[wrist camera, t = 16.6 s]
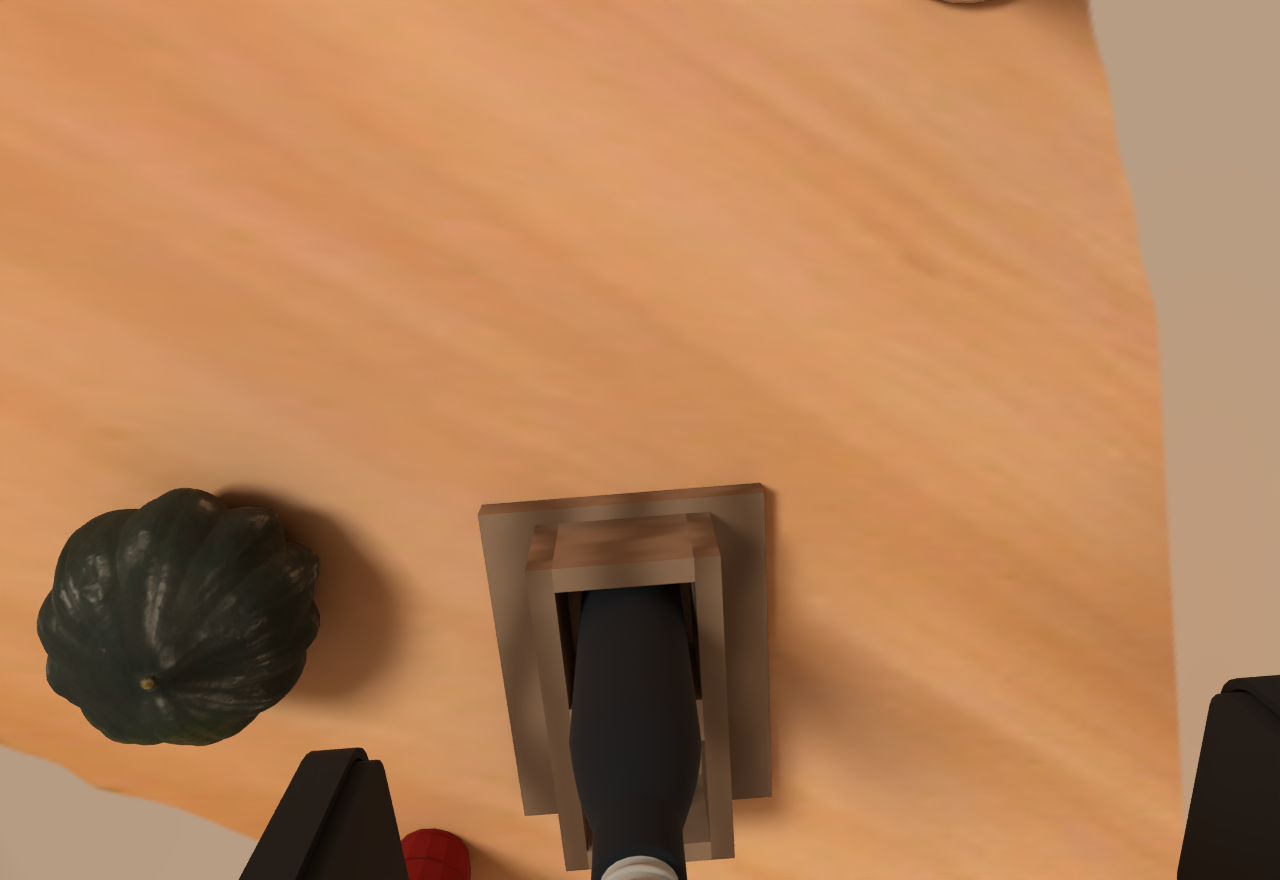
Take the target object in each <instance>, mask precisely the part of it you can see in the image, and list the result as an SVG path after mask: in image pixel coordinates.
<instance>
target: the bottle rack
mask: <svg viewBox="0 0 1280 880" xmlns="http://www.w3.org/2000/svg"><path fill="white" fill-rule="evenodd" d="M478 520H479V526H480V532H481V539H482V545H483V552H484V558H485V564H486V571H487V577H488V584H489V590H490V596H491V603H492V609H493V616H494V622H495V628H496V635H497V641H498V648H499V654H500V660H501V667H502V673H503V679H504V686H505V692H506V699H507V705H508V711H509V718H510V724H511V731H512V737H513V743H514V750H515V756H516V763H517V769H518V775H519V782H520V788H521V795H522V801H523V807H524V814H525V816H531V815H544V814H557V813H558V815H559V823H560V830H561V837H562V844H563V852H564V859H565V866H566V871H574V870H587V869H592V847H593V833H592V830H591V828H590V825H589V823H588V820H587V818H586V815H585V813H584V810H583V808H582V805H581V802H580V800H579V797H578V792H577V787H576V783H575V778H574V772H573V767H572V761H571V754H570V747H569V736H570V724H571V713H572V701H573V690H574V678H575V667H576V655H577V644H578V633H579V621H580V610H581V598H582V591H584V590H597V589H610V588H622V587H635V586H648V585H660V584H673V583H679V585H680V592H681V599H682V606H683V613H684V620H685V627H686V634H687V641H688V648H689V655H690V662H691V669H692V676H693V683H694V690H695V697H696V704H697V711H698V718H699V725H700V734H701V743H702V748H701V759H700V768H699V774H698V781H697V786H696V790H695V793H694V797H693V800H692V803H691V807H690V810H689V813H688V816H687V819H686V822H685V825H684V828H683V841H684V852H685V862H689V861H702V860H714V859H727V858H735V853H734V832H733V811H732V800H735V799H747V798H760V797H772V780H771V741H770V702H769V663H768V625H767V586H766V547H765V508H764V491H763V489H762V487H761V484H760V483H753V484H741V485H728V486H715V487H703V488H690V489H678V490H665V491H652V492H640V493H627V494H614V495H602V496H589V497H577V498H564V499H551V500H539V501H526V502H513V503H501V504H488V505H482V506H481V509H480V511H479V514H478Z"/></svg>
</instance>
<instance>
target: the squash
mask: <svg viewBox="0 0 1280 880" xmlns="http://www.w3.org/2000/svg"><path fill="white" fill-rule="evenodd" d="M318 576H319V558H318V556H317V555H316V554H315V553H314V552H313V551H312V550H310V549H309V548H307V547H305V546H303V545H300V544H298V543H292V542H286V541H285V531H284V526H283V523H282V521H281V519H280V517H279V516H278V515H277V513H275V512H274V511H273V510H271V509H268V508H264V507H238V508H233V509H228V507H227V506H226V504H225V503H224V502H223V501H221V500H220V499H219V498H218V497H216V496H214V495H212V494H210V493H208V492H205V491H202V490H198V489H192V488H179V489H174V490H171V491H169V492H167V493H165V494H163V495H162V496H160V497H159V498H157V499H155V500H152V501H150V502H148V503H147V504H145V505H144V506H143V507H141V508H140V509H123V510H115V511H111V512H107V513H104V514H102V515H100V516H97V517H95V518H93V519H92V520H90V521H89V522H87V523H86V524H85V525H83V526H82V527H81V528H79V529H78V530H76V531H75V532H74V533H73V534H72V535H71V536H70V538H69V539H68V541H67V542H66V544H65V546H64V548H63V549H62V552H61V554H60V556H59V559H58V563H57V566H56V570H55V577H54V584H53V589H52V590H51V591H50V593H49V594H48V596H47V597H46V599H45V600H44V602H43V604H42V606H41V609H40V611H39V615H38V619H37V633H38V636H39V638H40V640H41V642H42V645H43V647H44V649H45V651H46V653H47V654H48V657H47V664H46V676H47V681H48V683H49V685H50V686H51V688H52V689H53V690H54V692H56V693H57V694H58V695H60V696H62V697H64V698H65V699H67V700H68V701H69V702H71V703H72V704H74V705H76V706H78V707H80V708H81V710H82V713H83V715H84V716H85V718H86V719H87V720H88V721H89V722H90V724H91V725H92V726H94V727H95V728H96V729H98V730H100V731H101V732H102V733H103V734H104V735H105V736H106V737H107V738H109V739H111V740H112V741H115V742H119V743H123V744H139V745H156V744H160V743H163V742H165V743H169V744H177V745H194V746H206V745H210V744H213V743H216V742H219V741H221V740H223V739H226V738H229V737H231V736H233V735H236V734H237V733H239V732H240V731H242V730H243V729H244V728H245V727H246V726H247V725H248V724H249V723H251V722H252V721H253V720H254V719H255V718H256V717H257V715H258V714H259V713H260V712H263V711H265V710H267V709H268V708H270V707H272V706H274V705H275V704H276V703H278V702H279V701H280V700H281V699H282V698H284V697H285V695H286V694H287V693H288V692H289V691H290V690H291V689H292V688H293V686H294V685H295V684H296V682H297V681H298V679H299V677H300V676H301V674H302V671H303V668H304V666H305V662H306V650H307V649H308V647H309V646H310V645H311V643H312V642H313V640H314V639H315V638H316V636H317V632H318V629H319V626H320V614H319V611H318V608H317V606H316V604H315V602H314V600H313V598H314V595H315V592H316V588H317V582H318Z"/></svg>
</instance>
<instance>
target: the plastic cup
mask: <svg viewBox="0 0 1280 880" xmlns="http://www.w3.org/2000/svg"><path fill="white" fill-rule="evenodd" d="M401 845H402V849H403V854H404V858H405V863H406V867H407V871H408V876H409V880H470V875H471V867H470V861H469V855H468V849H467V848H466V847H465V845H464V844H463V843H462V841H461V840H460V839H459V838H457V837H455V836H454V835H452V834H451V833H449V832H445V831H441V830H437V829H423V830H418V831H415V832H413V833H411V834H408V835H407V836H406V837H405V838H404V839H403V840H402V841H401Z"/></svg>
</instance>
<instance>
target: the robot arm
mask: <svg viewBox="0 0 1280 880" xmlns="http://www.w3.org/2000/svg"><path fill="white" fill-rule="evenodd" d="M943 1H947V2H951V3H977V2H982V1H988V0H943ZM239 880H409V876H408V871H407V867H406V863H405V858H404V854H403V849H402V845H401V840H400V836H399V832H398V827H397V823H396V818H395V814H394V809H393V805H392V800H391V796H390V792H389V787H388V783H387V778H386V774H385V770H384V766H383V764H382V762H381V761H380V760H369V759H368V756H367V754H366V752H365V751H364V749H363V748H346V749H334V750H321V751H311V752H309V753H308V754H306V756H305V757H304V759H303V760H302V761H301V763H300V765H299V767H298V769H297V771H296V773H295V775H294V777H293V778H292V780H291V782H290V784H289V786H288V788H287V790H286V792H285V793H284V795H283V797H282V799H281V801H280V803H279V805H278V807H277V809H276V810H275V812H274V814H273V816H272V818H271V820H270V822H269V824H268V825H267V827H266V829H265V831H264V833H263V835H262V837H261V839H260V841H259V842H258V844H257V846H256V848H255V850H254V852H253V854H252V856H251V857H250V859H249V861H248V863H247V865H246V867H245V869H244V871H243V873H242V874H241V876H240V878H239ZM1177 880H1280V675H1273V676H1260V677H1248V678H1236V679H1232V680H1229V681H1228V682H1227V683H1226V684H1225V685H1224V686H1223V688H1222V691H1221V694H1216V695H1215V696H1214V697H1213V698H1212V700H1211V703H1210V706H1209V711H1208V716H1207V721H1206V726H1205V731H1204V737H1203V742H1202V747H1201V752H1200V757H1199V762H1198V768H1197V773H1196V778H1195V783H1194V788H1193V794H1192V798H1191V804H1190V809H1189V814H1188V819H1187V824H1186V829H1185V835H1184V840H1183V845H1182V850H1181V855H1180V860H1179V866H1178V871H1177Z"/></svg>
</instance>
